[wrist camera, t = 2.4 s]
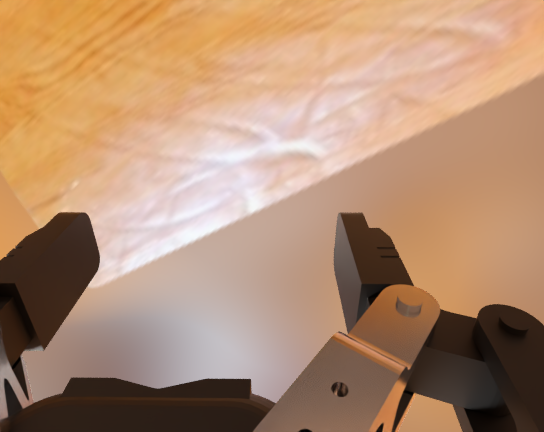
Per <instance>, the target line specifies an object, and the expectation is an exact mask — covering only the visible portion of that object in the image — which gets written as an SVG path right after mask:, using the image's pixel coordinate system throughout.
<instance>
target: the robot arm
mask: <svg viewBox="0 0 544 432" xmlns="http://www.w3.org/2000/svg"><path fill="white" fill-rule="evenodd" d="M99 263H100V255H99V250H98V247H97V243H96V239H95V236H94V232H93V228H92V225H91V221H90V218H89V216H88V215H87V214H86V213H74V212H61V213H58V214H57V215H56V216H55V217H54V218H53V219H52V220H51V221H50V222H48V223H47V224H46V225H45V226H44V227H43V228H41V229H39V230H37V231H35V232H34V233H32V234H30V235H28V236H26V237H25V238H24V239H23V240H22V241H21V242H20V243H19V244H18V245H17V246H16V248H15V249H12V250H11V251H10V252H9V253H8V254H7V257H4V258H3V259H2V260H0V432H398V430H399V428H400V426H401V424H402V422H403V420H404V418H405V416H406V414H407V412H408V410H409V408H410V406H411V404H412V402H413V400H414V398H415V396H416V394H420V395H423V396H427V397H430V398H433V399H437V400H440V401H443V402H447V403H450V404H453V407H454V410H455V412H456V415H457V418H458V420H459V423H460V426H461V429H462V431H463V432H544V325H543V324H542V323H541V322H540V321H538V320H537V319H536V318H535V317H533V316H532V315H530V314H528V313H527V312H525V311H522V310H520V309H517V308H515V307H511V306H507V305H500V304H493V305H488V306H485V307H483V308H482V309H481V310H480V311H479V313H478V316H477V318H472V317H468V316H464V315H460V314H455V313H451V312H447V311H444V310H441V309H440V306H439V304H438V302H437V301H436V299H434V297H433V296H432V295H430V294H429V293H427V292H426V291H424V290H422V289H420V288H417V287H414V285H413V283H412V281H411V279H410V277H409V275H408V273H407V270H406V268H405V267H404V264H403V262H402V260H401V258H399V254H398V252H397V250H396V249H395V246H394V244H393V242H392V240H391V238H390V237H389V236H388V235H387V234H386V233H385V232H383V231H382V230H381V229H380V228H369V227H368V225H367V222H366V220H365V217H364V215H363V213H339V214H338V217H337V227H336V238H335V248H334V271H335V276H336V281H337V285H338V290H339V295H340V299H341V304H342V309H343V313H344V317H345V323H346V327H347V332H348V335H346V334H344V333H342V332H337V333H335V334H334V335H333V336H332V337H331V338H330V339H329V341H328V342H327V343H326V344H325V346H324V347H323V348H322V349H321V350H320V351H319V353H318V354H317V355H316V356H315V357H314V359H313V360H312V361H311V362H310V364H309V365H308V366H307V367H306V368H305V369H304V371H303V372H302V373H301V374H300V375H299V377H298V378H297V379H296V380H295V381H294V383H293V384H292V385H291V386H290V387H289V389H288V390H287V391H286V392H285V393H284V395H283V396H282V397H281V398H280V399H279V401H278V402H277V403H274V402H272V401H270V400H268V399H266V398H263V397H261V396H258V395H254V394H252V392H251V379H203V380H198V381H194V382H189V383H184V384H180V385H175V386H170V387H166V388H161V389H155V388H151V387H147V386H143V385H140V384H136V383H132V382H128V381H124V380H121V379H117V378H71V379H70V381H69V383H68V384H67V386H66V388H65V390H64V392H63V393H62V394H58V395H54V396H51V397H48V398H45V399H43V400H40V401H38V402H35V403H34V402H33V397H32V392H31V387H30V382H29V377H28V373H27V368H26V364H25V361H24V359H23V357H22V355H21V354H22V352H23V351H44V350H45V348H46V347H47V345H48V344H49V342H50V341H51V339H52V338H53V336H54V335H55V333H56V332H57V330H58V329H59V327H60V326H61V325H62V323H63V322H64V320H65V319H66V317H67V316H68V314H69V312H70V311H71V310H72V308H73V307H74V305H75V304H76V302H77V301H78V299H79V298H80V296H81V295H82V293H83V292H84V290H85V289H86V287H87V286H88V284H89V283H90V281H91V280H92V278H93V277H94V275H95V274H96V272H97V270H98V268H99Z"/></svg>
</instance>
